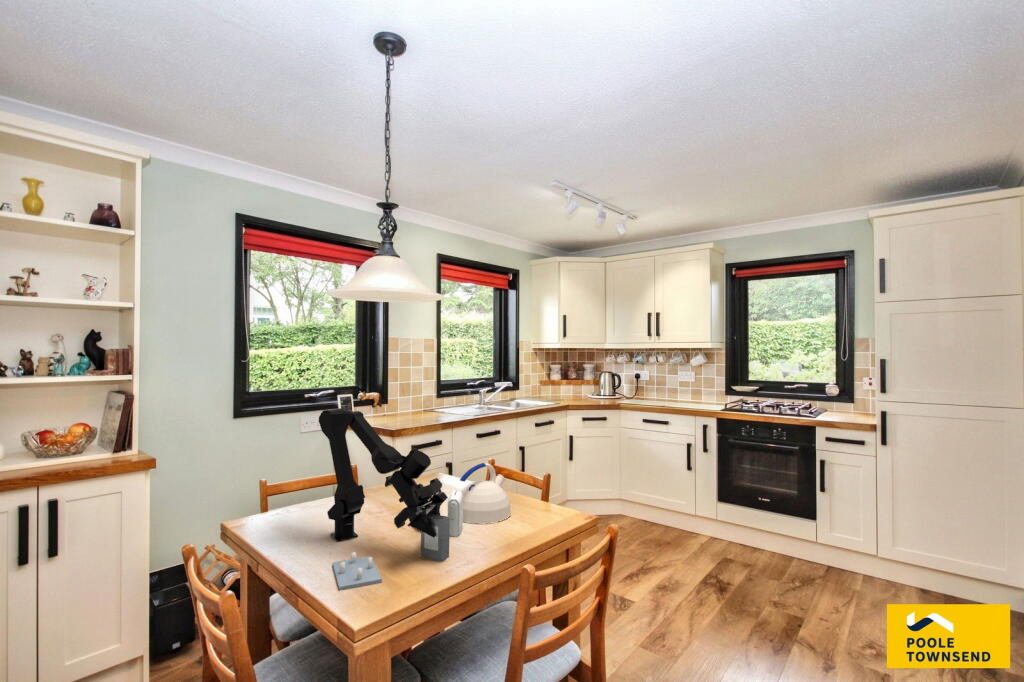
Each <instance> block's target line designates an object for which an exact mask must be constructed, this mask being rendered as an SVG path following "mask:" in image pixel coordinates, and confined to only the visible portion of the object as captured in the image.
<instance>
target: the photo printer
mask: <svg viewBox="0 0 1024 682" xmlns="http://www.w3.org/2000/svg"><path fill="white" fill-rule="evenodd" d="M461 491H462V490H456V489H454V490H452V492H451V493H450V494H449V497H448V498H447V499H448V500H447V517H450V530H449V537H458V536H460V534H461V532H462V529H463V524H464V522H463V494H462V493H461Z"/></svg>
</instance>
